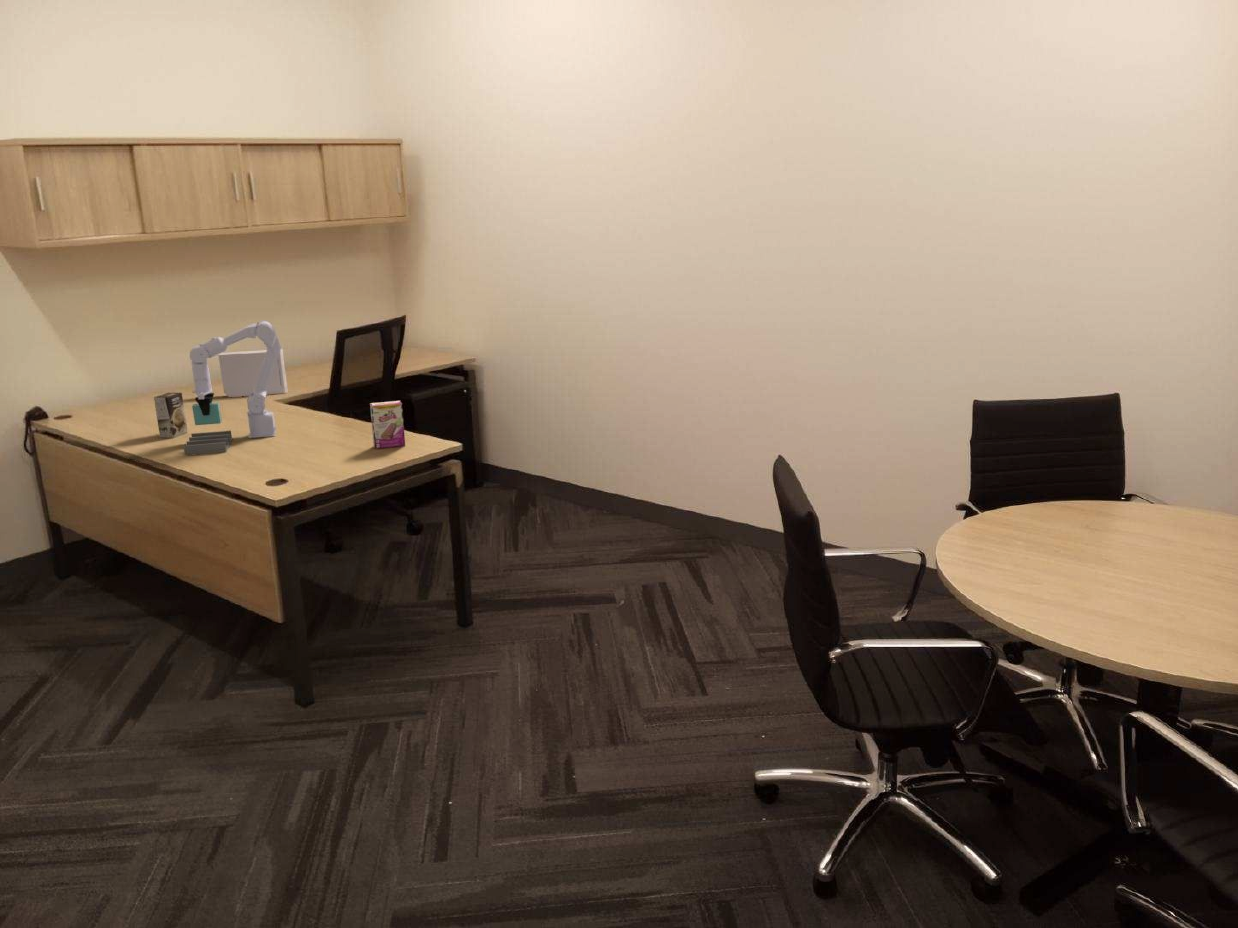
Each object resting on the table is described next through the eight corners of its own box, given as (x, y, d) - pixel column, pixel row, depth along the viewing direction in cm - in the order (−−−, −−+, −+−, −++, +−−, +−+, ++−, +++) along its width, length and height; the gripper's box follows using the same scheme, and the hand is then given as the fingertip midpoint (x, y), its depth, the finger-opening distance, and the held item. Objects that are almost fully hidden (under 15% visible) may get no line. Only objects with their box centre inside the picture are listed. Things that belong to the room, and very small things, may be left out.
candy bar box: (375, 449, 351) (370, 405, 346) (373, 446, 356) (369, 403, 351) (406, 446, 355) (402, 402, 350) (404, 443, 359) (400, 400, 355)
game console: (287, 393, 446) (282, 350, 440) (224, 398, 439) (218, 355, 433) (287, 391, 451) (282, 348, 445) (225, 395, 444) (219, 353, 438)
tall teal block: (221, 421, 369) (219, 402, 367) (220, 423, 366) (217, 404, 364) (196, 423, 367) (193, 403, 365) (195, 425, 364) (192, 406, 362)
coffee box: (174, 438, 373) (167, 397, 368) (159, 437, 374) (152, 397, 369) (188, 432, 381) (182, 392, 377) (174, 431, 383) (167, 391, 378)
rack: (232, 439, 370) (230, 430, 369) (226, 452, 352) (224, 442, 351) (193, 442, 366) (191, 433, 365) (185, 455, 349) (183, 446, 348)
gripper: (193, 375, 367) (199, 410, 371) (187, 383, 354) (192, 419, 358) (213, 374, 369) (218, 409, 373) (207, 382, 355) (212, 417, 359)
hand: (207, 414), depth 365 cm, fingers closed on tall teal block, 3 cm apart
